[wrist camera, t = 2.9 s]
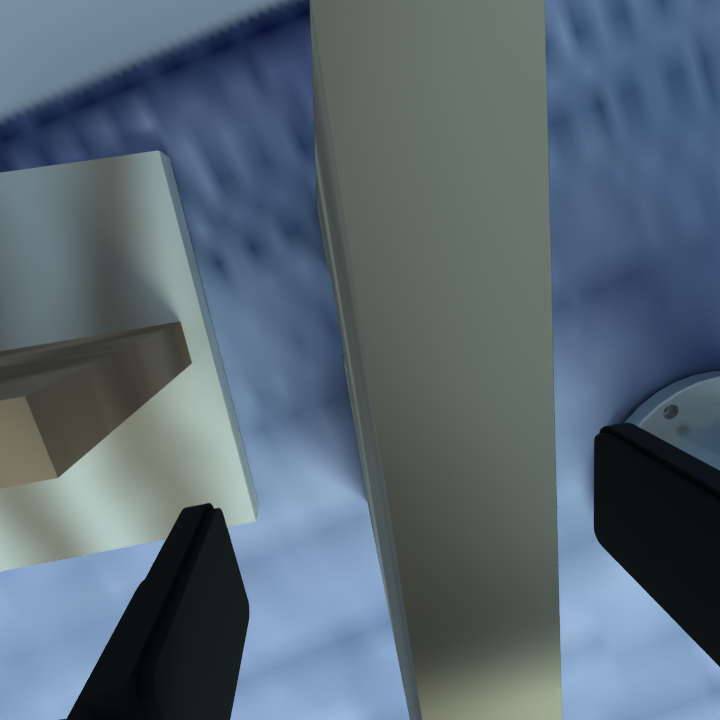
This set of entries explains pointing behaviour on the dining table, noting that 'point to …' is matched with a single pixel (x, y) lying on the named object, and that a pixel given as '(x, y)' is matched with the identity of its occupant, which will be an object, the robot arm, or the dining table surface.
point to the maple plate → (448, 333)
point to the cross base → (105, 286)
